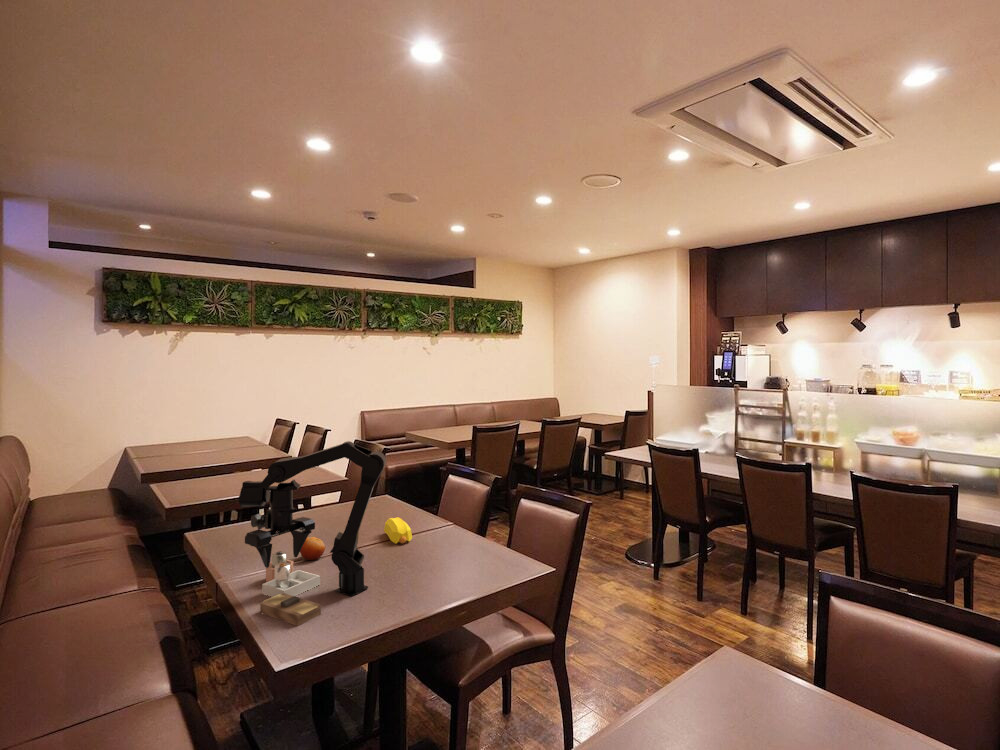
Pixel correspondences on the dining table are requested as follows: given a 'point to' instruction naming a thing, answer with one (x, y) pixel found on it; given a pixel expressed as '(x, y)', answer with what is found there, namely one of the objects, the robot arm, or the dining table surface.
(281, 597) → the cradle
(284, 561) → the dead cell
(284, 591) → the trough tray
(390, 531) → the yellow lump
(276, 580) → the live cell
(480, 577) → the dining table surface
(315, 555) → the fruit
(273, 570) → the cup
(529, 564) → the dining table surface
